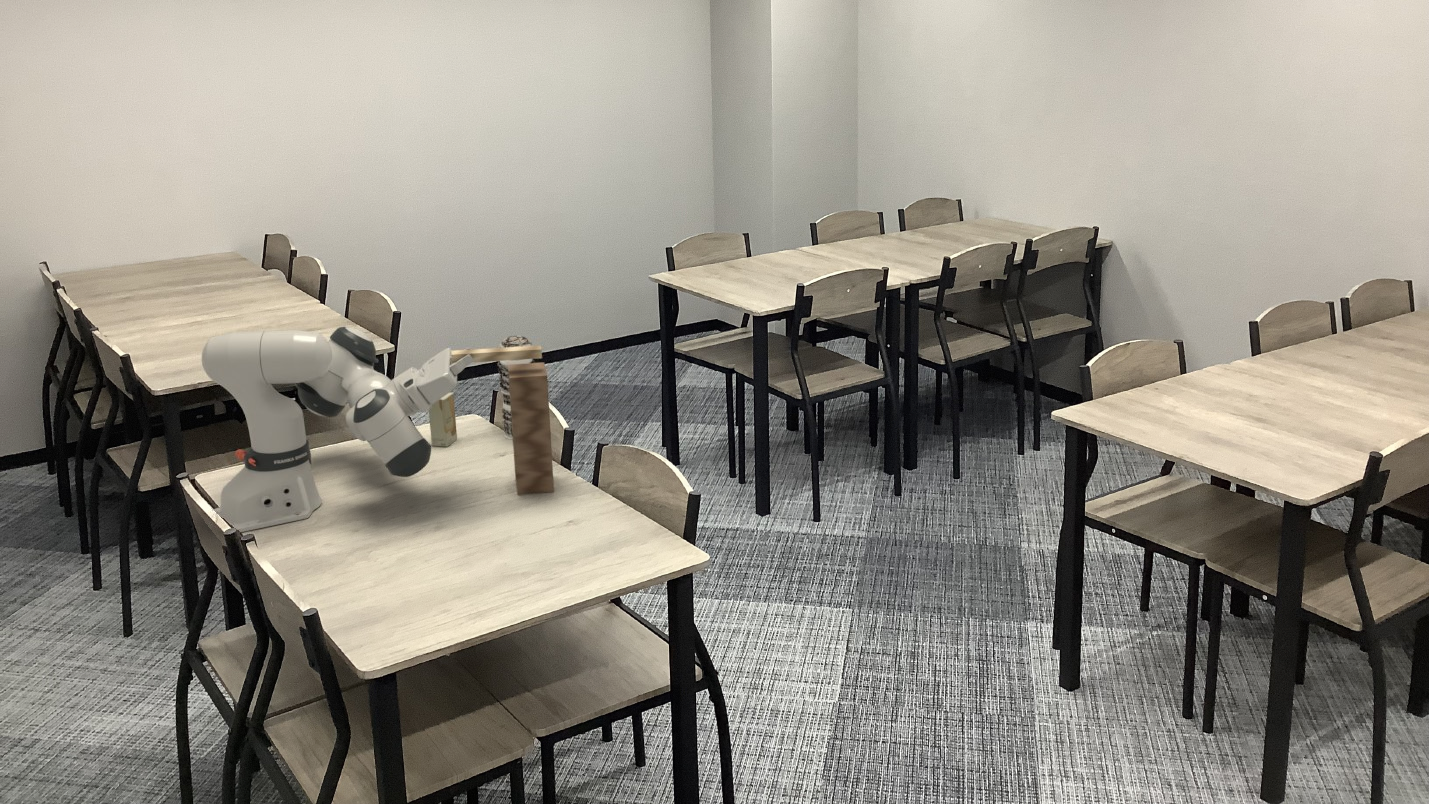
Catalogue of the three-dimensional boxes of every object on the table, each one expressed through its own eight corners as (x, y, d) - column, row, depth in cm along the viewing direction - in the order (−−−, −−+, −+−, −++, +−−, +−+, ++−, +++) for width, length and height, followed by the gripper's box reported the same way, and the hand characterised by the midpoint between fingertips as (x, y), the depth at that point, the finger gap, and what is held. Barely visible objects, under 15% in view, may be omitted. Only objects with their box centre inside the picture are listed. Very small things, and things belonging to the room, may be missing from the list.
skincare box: (447, 447, 292) (443, 399, 289) (431, 446, 293) (426, 399, 289) (458, 438, 298) (454, 391, 295) (441, 437, 299) (437, 390, 295)
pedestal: (517, 495, 264) (509, 377, 255) (515, 478, 273) (507, 364, 264) (553, 491, 265) (547, 375, 257) (550, 475, 274) (544, 362, 266)
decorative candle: (518, 425, 307) (511, 331, 299) (546, 431, 302) (541, 336, 294) (494, 436, 299) (487, 340, 291) (523, 442, 295) (517, 345, 287)
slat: (452, 363, 255) (451, 354, 254) (452, 359, 258) (451, 350, 257) (541, 358, 258) (541, 349, 257) (541, 354, 261) (540, 345, 260)
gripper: (427, 384, 267) (479, 351, 267) (424, 415, 248) (480, 379, 248) (410, 362, 265) (463, 329, 265) (406, 391, 246) (462, 355, 246)
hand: (471, 353), depth 256 cm, fingers closed on slat, 3 cm apart
